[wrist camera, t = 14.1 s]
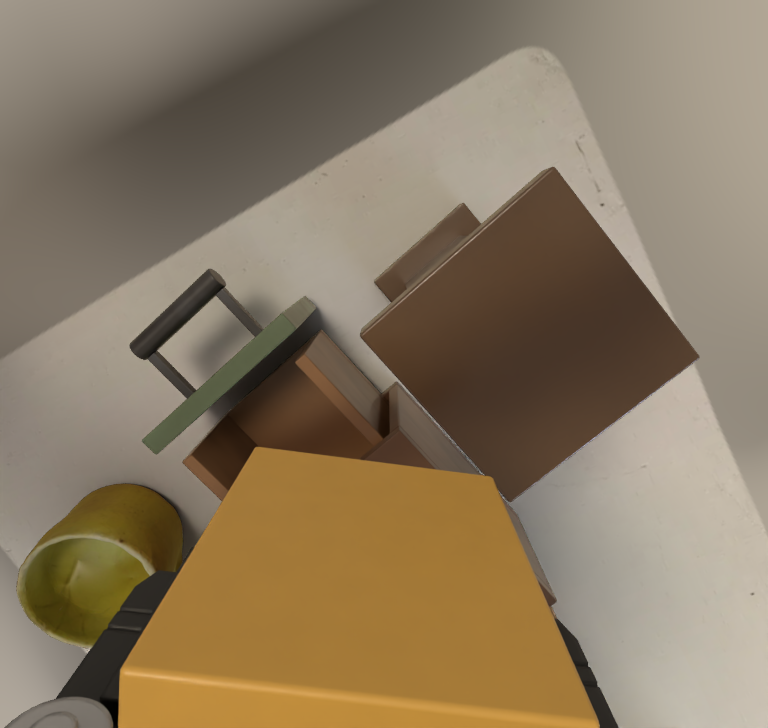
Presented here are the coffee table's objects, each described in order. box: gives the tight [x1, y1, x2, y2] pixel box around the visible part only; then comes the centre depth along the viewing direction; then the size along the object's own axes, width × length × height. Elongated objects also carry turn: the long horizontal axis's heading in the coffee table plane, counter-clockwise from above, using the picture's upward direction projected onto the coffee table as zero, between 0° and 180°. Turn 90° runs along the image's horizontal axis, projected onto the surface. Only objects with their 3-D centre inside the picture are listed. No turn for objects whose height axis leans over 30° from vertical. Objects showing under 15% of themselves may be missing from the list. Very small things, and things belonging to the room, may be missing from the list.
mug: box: [16, 484, 183, 648], centre depth 41 cm, size 12×10×10 cm
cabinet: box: [359, 382, 557, 607], centre depth 38 cm, size 15×13×11 cm
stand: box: [360, 167, 699, 502], centre depth 29 cm, size 8×8×22 cm
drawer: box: [130, 269, 390, 501], centre depth 36 cm, size 18×11×9 cm, turn 41°
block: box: [118, 447, 600, 728], centre depth 9 cm, size 5×5×6 cm
